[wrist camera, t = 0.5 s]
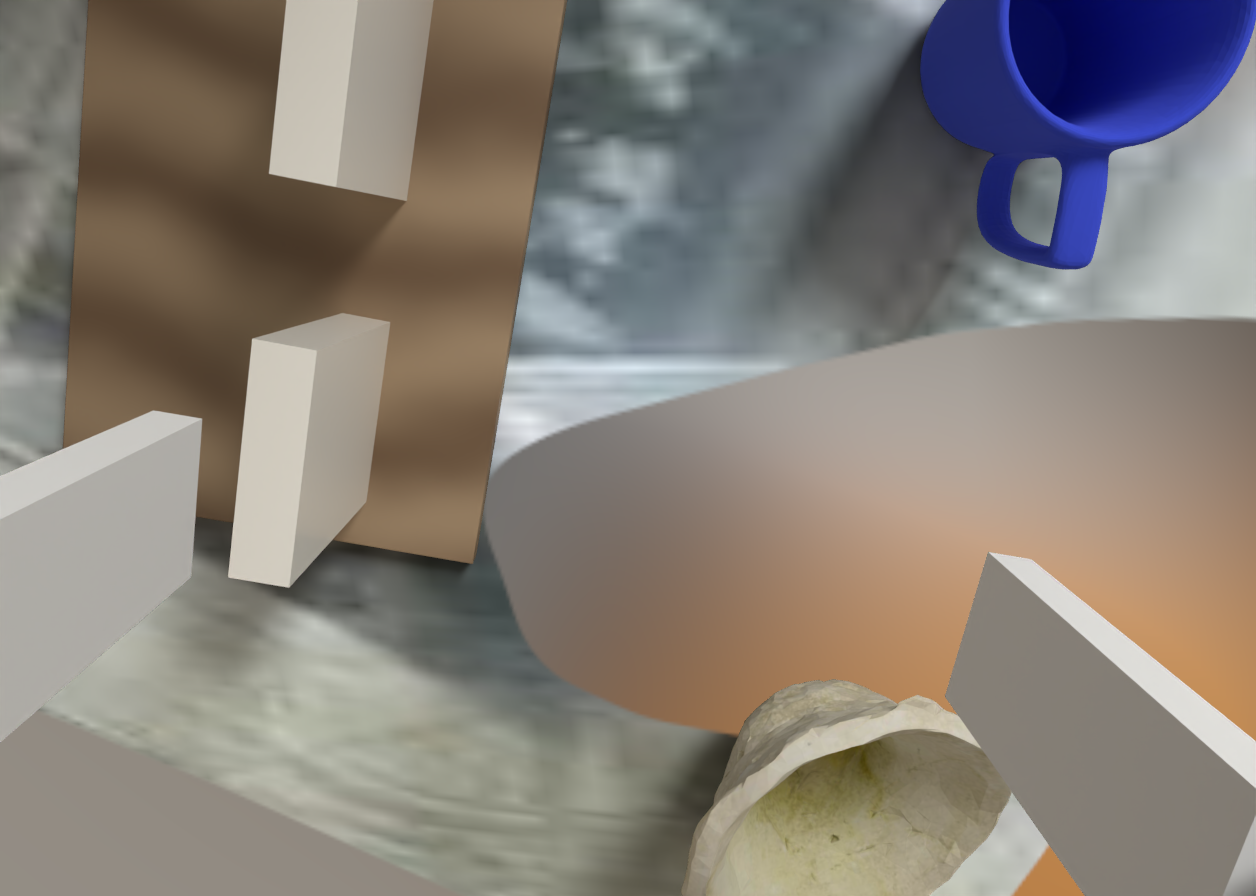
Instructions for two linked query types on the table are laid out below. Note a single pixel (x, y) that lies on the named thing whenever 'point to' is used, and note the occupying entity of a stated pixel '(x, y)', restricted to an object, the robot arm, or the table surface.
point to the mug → (1072, 94)
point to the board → (305, 245)
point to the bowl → (845, 798)
